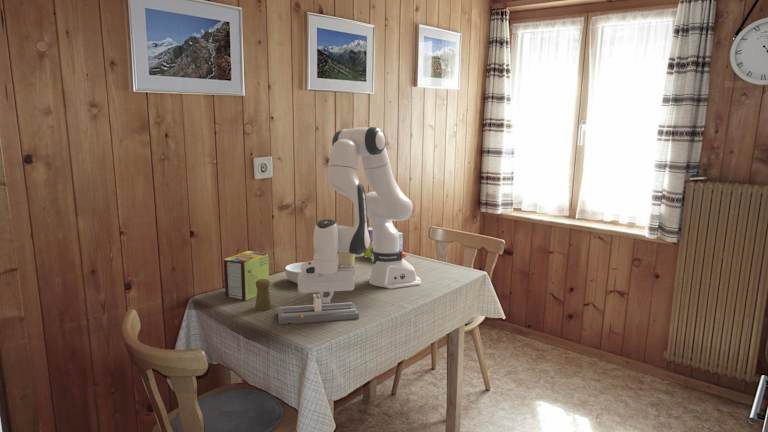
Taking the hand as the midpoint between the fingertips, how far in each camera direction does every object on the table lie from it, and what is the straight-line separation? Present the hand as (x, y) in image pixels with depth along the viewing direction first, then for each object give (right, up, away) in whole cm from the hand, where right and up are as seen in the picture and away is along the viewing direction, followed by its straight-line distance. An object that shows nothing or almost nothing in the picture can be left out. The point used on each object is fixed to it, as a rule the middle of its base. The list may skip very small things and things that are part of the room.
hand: (326, 302), depth 194 cm
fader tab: (-3, -2, 0) cm, 4 cm away
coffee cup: (+3, +7, +63) cm, 64 cm away
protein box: (-34, 0, +23) cm, 41 cm away
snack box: (+20, +9, +76) cm, 80 cm away
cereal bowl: (-13, +2, +38) cm, 41 cm away
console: (-3, -5, 0) cm, 6 cm away
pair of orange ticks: (-9, -3, -1) cm, 9 cm away
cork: (-24, -3, +8) cm, 26 cm away
